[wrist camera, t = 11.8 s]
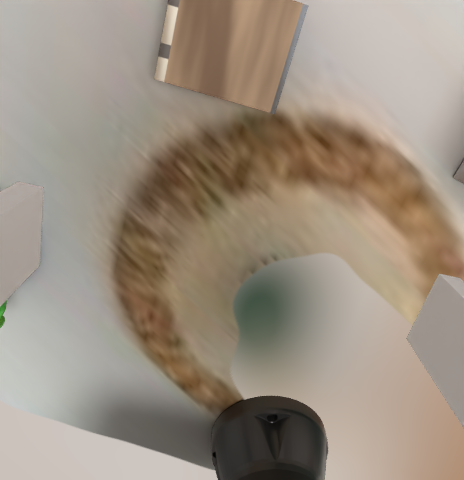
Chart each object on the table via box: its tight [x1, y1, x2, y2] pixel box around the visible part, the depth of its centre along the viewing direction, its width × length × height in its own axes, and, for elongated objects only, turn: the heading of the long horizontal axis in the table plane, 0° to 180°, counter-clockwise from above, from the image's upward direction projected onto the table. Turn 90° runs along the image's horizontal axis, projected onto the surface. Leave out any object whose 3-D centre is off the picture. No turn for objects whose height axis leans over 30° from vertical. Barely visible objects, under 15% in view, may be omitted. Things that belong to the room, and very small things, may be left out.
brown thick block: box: [154, 0, 308, 114], centre depth 32 cm, size 4×8×10 cm
